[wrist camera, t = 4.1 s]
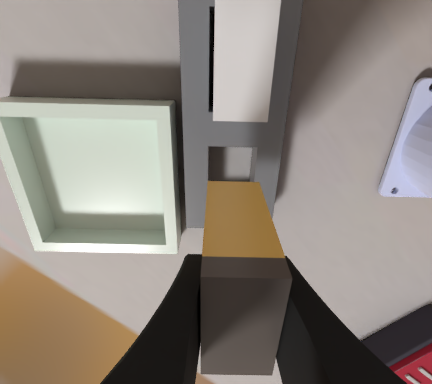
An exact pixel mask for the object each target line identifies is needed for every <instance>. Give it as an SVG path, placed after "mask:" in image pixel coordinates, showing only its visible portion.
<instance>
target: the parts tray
mask: <svg viewBox="0 0 432 384" xmlns="http://www.w3.org/2000/svg"><path fill="white" fill-rule="evenodd" d="M0 158H1V161H2V163H3V166H4V169H5V172H6V174H7V177H8V180H9V182H10V185H11V188H12V190H13V193H14V196H15V198H16V201H17V204H18V207H19V209H20V212H21V215H22V217H23V220H24V223H25V225H26V228H27V231H28V233H29V236H30V239H31V242H32V244H33V247H34V250H35V251H61V252H110V253H159V254H178V250H179V245H180V240H181V215H180V194H179V172H178V151H177V129H176V107H175V100H141V99H99V98H58V97H16V96H8V97H2V98H0Z"/></svg>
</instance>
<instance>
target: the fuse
mask: <svg viewBox="0 0 432 384" xmlns="http://www.w3.org/2000/svg"><path fill="white" fill-rule="evenodd" d="M280 6H281V0H215V27H214V86H213V121H235V122H268V114H269V105H270V96H271V87H272V78H273V69H274V60H275V51H276V42H277V33H278V24H279V15H280Z"/></svg>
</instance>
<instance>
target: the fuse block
mask: <svg viewBox="0 0 432 384" xmlns="http://www.w3.org/2000/svg"><path fill="white" fill-rule="evenodd" d="M302 6H303V0H281V6H280V15H279V24H278V33H277V42H276V51H275V60H274V69H273V78H272V87H271V96H270V105H269V114H268V122H235V121H213V106H209V105H210V13H215V0H178V8H179V36H180V64H181V92H182V121H183V149H184V177H185V205H186V228H204V223H205V210H206V196H207V183H208V181H209V146H219V147H252V157H251V168H250V179H249V182H259V183H260V186H261V189H262V192H263V195H264V198H265V200H266V203H267V206H268V209H269V212H270V215H271V218H272V217H273V210H274V203H275V196H276V189H277V182H278V175H279V168H280V161H281V154H282V147H283V140H284V133H285V126H286V119H287V112H288V105H289V98H290V91H291V84H292V77H293V70H294V63H295V56H296V49H297V42H298V35H299V28H300V21H301V14H302Z"/></svg>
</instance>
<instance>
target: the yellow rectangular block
mask: <svg viewBox="0 0 432 384" xmlns="http://www.w3.org/2000/svg"><path fill="white" fill-rule="evenodd" d="M291 284H292V276H291V273H290V270H289V267H288V264H287V261H286V258H285V256H284V253H283V250H282V247H281V244H280V241H279V238H278V235H277V232H276V229H275V227H274V224H273V221H272V218H271V215H270V212H269V209H268V206H267V203H266V200H265V198H264V195H263V192H262V189H261V186H260V183H259V182H231V181H208V183H207V196H206V210H205V223H204V237H203V250H202V264H201V374H220V375H272V373H273V368H274V364H275V359H276V354H277V350H278V345H279V340H280V335H281V331H282V326H283V321H284V317H285V312H286V307H287V302H288V298H289V293H290V288H291Z"/></svg>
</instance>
